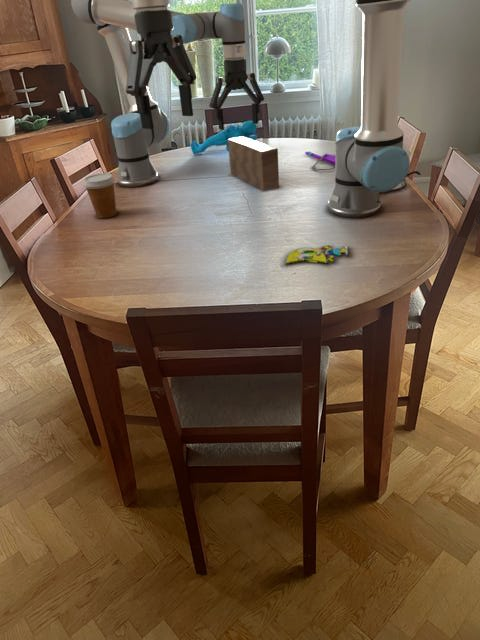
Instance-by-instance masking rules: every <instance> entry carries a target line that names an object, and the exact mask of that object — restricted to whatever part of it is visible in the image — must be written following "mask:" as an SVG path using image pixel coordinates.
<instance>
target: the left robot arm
mask: <svg viewBox="0 0 480 640" xmlns="http://www.w3.org/2000/svg"><path fill="white" fill-rule="evenodd" d="M70 2H71V3H70V5H71V8H72V10H73V14H74V15H75V16H76V17H77V19H79V20H80V21H81V22H83V23H85V24H89V25H95V27H96V29H97V32H98V34H100V35H101V36H103V37H104V40H105V43H106V44H107V47H108V50H109V52H110V55H111V58H112V61H113V63H114V66H115V69H116V71H117V74H118V77H119V80H120V82H121V85H122V88H123V91H124V93H125V96H126V99H127V101H128V104H129V110H128V111H127V112H128V113H124V114H120V115H118V116H116V117H114V118H113V119H112V120H111V123H110V127H111V135H112V138H113V142H114V146H115V151H116V155H117V160H118V167H117V168H118V170H117V179H116V180H117V183H118V186H120V187H123V188H124V187H125V188H136V187H137V188H138V187H145V186H147V185H148V186H149V185H151V184H154V183H156V182H157V181H158V180H159V176H158V172H157V169H156V168H155V166H154V163H153V161H152V159H151V156H150V151H149V148H150V147H151V146H154V145H156V144H159V143H161V142H162V141H163V140H165V139H166V138H167V136H168V135H169V133H170V129H171V128H170V127H171V125H170V119H169V117H168V115H167V114H166V113H165V112H164V111H163V110H161V109H160V108H159V104H158V102H156V101H154V100H153V99H152V96H151V94H150V91H149V87H148V86H147V90H146V93H145V95H148V96H149V102H150V108H151V114H152V120H153V126H154V128H153V129H144V128H142V123H141V117H140V113H138V110H137V105H136V99H135V96H131V94H127V93H126V84H127V76H128V68H129V61H130V45H129V43H130V41H132V39H131V38H132V37H131V35H130V33H129V32H130V31H129V30H132V31H136V32H137V29H136V23H135V17H134V15H135V13H136V10H134V9H133V6H132V0H131V1H130V0H70ZM244 11H245V10H244V5H243V4H242V3H241V2H232V3H222V4H220V5H219V10H218V11H208V12H207V11H206V12H193V13H183V12H179V11H174V10H170V12H171V14H172V22H173V30H172V31H171V32H170V33H171V35H181V36H182V40H183V45H187V44H190V43H194V42H200V41H205V40H217V39H218V40H219V39H220V40H221V44H222V57H223V59H224V60H223V71H224V76H223V77H222V76H216V77H215V85H214V89H213V92H212V96H211V99H210V102H209V108H211V109H214V111H215V112H214V114H215V120H217V122H218V130H221V131H224V130H225V125H224V111H223V110H224V109H222V108H223V104H225V101H226V99H227V98H228V96H229V94H230V93H231V92H232V91H238V90H243V91H244V92H245V94H246V95H247V96H248V97H249V98H250V100H251V101H252V102H253V103H251V115H252V117H251V118H252V120H251V121H253V123H255V124H256V125H258V124H259V114H260V112H261V111H260V104H262V102H264V101H265V97H264V94H263V92H262V91H261V89H260V86H259V84H258V82H257V79H256V73H255V72H249V73H247V59H246V58H245V57H247V53H246V32H245V31H246V29H245V21H246V20H245V13H244ZM247 81H249V83H250V85H251V87H252V88H250V86H249V85H248V84H247ZM224 83H225V86H224V88H223V84H224ZM132 88H133V86H132ZM222 88H223V91H222ZM252 89H253V90H252Z"/></svg>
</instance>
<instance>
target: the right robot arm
mask: <svg viewBox="0 0 480 640" xmlns="http://www.w3.org/2000/svg"><path fill="white" fill-rule="evenodd" d="M410 1H411V0H355V7H356V8H357V9H358V10H359V11H360V13H361V14H362V37H361V39H362V41H361V42H362V43H361V44H362V45H361V47H362V48H361V50H362V51H361V107H360V108H361V110H360V111H361V114H360V115H361V116H360V126H359V125H358V126H351V127H345V128H341V129H339V130H338V131H337V132H336V138H335V142H334V143H335V156H336V159H335V164H334V165H335V166H334V167H335V168H334V184H333V188H332V191H331V193H330V196H329V199H328V201H327V211H328V212H329V213H330V214H332V215H334V216H337V217H340V218H347V219H356V218H357V219H359V218H360V219H361V218H367V217H371V216H375V215H376V214H379V212H380V211H381V208H382V200H381V196H380V195H383V194H390V193H393V192H394V193H395V192H398V191H401V190H403V189H405V188H406V186H407V184H406V182H405V179H406V178H408V177H410V176H411V175H414V174H416V175H418V176H421V173H420V172H419V171H418V170H413V171H410V172H409V170H410V167H411V166H410V165H411V162H410V161H411V160H410V157H409V154H408V153H407V151H406V150H405V149H404V130H403V129H402V128H401V127H399V124H398V123H399V107H400V106H399V104H400V103H399V102H400V86H401V67H402V49H403V33H404V32H403V31H404V15H405V14H404V13H405V8H406V6H407V5H408V4H409V2H410ZM131 2H132V6H133V9H134V10H136V13H135V15H134V17H135V23H136V29H137V31H136V33H137V34H138V35H139V36H140V39H139V40H138V39H137V40H131V41H130V43H129V45H130V61H129V68H128V76H127V84H126V93H127V94H131V96H135V99H136V105H137V110H138V113H140V117H141V123H142V128H144V129H153V128H154V126H153V120H152V114H151V108H150V102H149V96H148V95H145V93H146V90H147V87H148V86H149V83H150V80H151V77H152V74H153V71H154V67H156V65H157V64H160V63H162V62H164V63H166V65H167V66H168V67H169V68H170V70H171V71H172V73H173V74H174V76H175V77H176V79H177V80H178V82H179V83H180V84H179V85H178V92H179V101H180V107H181V115H182V116H183V117H194V111H193V102H192V99H193V94H192V93H193V92H192V85H194V84H195V81H196V80H197V74H196V72H195V70H194V67H193V65H192V62H191V60H190V57H189V55H188V53H187V50H186V48H185V46H184V45H185V44H183V40H182V36H181V35H171V33H170V32H171V31H172V30H173V22H172V14H171V12H170V11H171V10H170V9H168V7H170V5H171V2H170V0H131ZM132 86H133V88H132ZM401 183H402V186H400V187H399V185H400V184H401Z"/></svg>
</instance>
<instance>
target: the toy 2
mask: <svg viewBox="0 0 480 640" xmlns="http://www.w3.org/2000/svg"><path fill="white" fill-rule="evenodd" d="M323 250H324V251H323ZM348 251H349V250H348V245H345V246H344V247H343V248H341V247H340V246H339V247H337V248H335V249H333V248H331V247H330V245H329V244H328V245H323V246H321V248H320V249H319V248H317V247H316V248H315V247H300V248H297V249H294V250H292V251H291V252H290V253H289V255H288V256H287V258H286V261H285V266H287V265H292V264H297V263H317V264H325V265H328V264H329V263H328V262H330V263H334V259H335V257H341V256H342V255H345V256H346V257H349V252H348Z"/></svg>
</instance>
